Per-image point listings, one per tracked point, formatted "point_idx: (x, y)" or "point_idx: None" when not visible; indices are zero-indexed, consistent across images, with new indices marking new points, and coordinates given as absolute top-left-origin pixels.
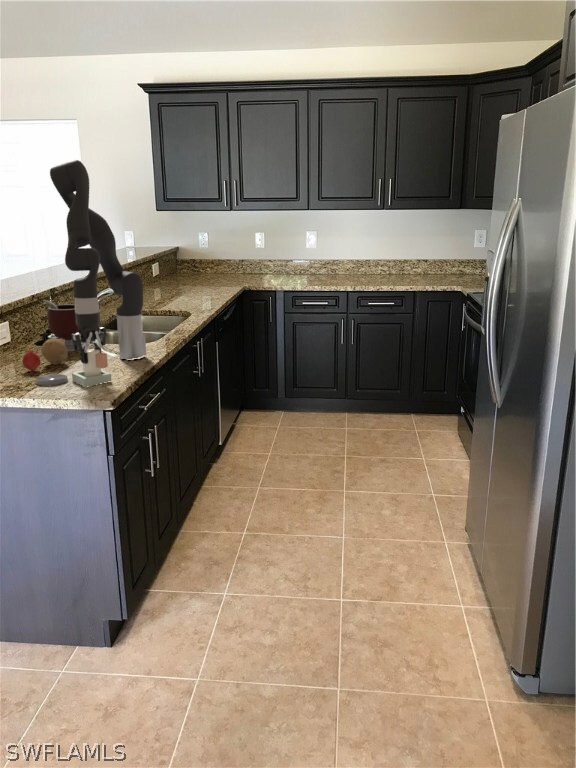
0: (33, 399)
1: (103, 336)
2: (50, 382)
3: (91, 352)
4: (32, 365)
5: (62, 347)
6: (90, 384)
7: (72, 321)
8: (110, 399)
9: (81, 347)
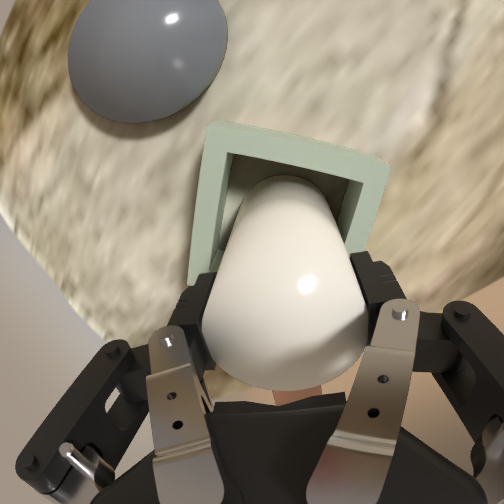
0: (14, 229)
1: (469, 427)
2: (95, 112)
3: (249, 376)
4: None
5: None
6: None
7: None
8: None
9: (137, 416)
